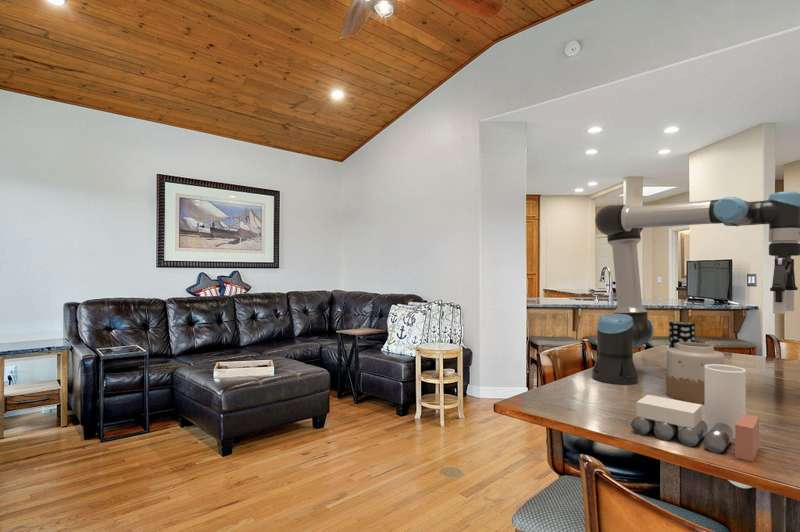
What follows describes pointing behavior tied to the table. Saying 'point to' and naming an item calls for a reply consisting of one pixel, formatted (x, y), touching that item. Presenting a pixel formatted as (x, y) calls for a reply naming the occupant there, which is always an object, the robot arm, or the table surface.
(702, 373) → the vase
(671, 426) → the rollers
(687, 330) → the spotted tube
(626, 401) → the table surface
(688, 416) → the board
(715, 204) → the robot arm
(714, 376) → the cup
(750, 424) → the block
